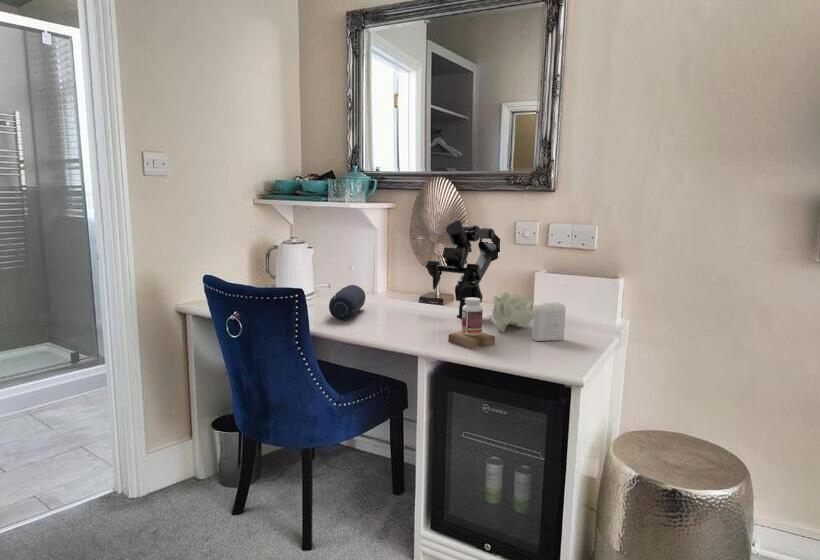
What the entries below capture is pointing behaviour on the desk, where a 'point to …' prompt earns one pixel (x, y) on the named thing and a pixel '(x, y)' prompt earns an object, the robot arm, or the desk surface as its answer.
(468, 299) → the pill bottle
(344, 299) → the portable speaker
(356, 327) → the desk surface
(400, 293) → the desk surface
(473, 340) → the plinth
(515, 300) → the wavy plaster lump
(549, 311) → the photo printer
